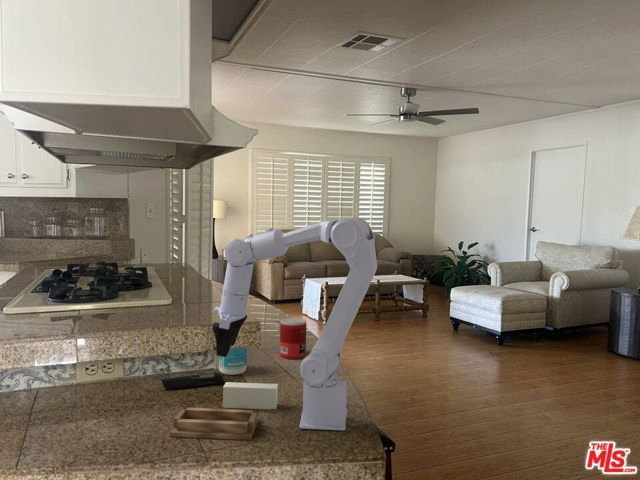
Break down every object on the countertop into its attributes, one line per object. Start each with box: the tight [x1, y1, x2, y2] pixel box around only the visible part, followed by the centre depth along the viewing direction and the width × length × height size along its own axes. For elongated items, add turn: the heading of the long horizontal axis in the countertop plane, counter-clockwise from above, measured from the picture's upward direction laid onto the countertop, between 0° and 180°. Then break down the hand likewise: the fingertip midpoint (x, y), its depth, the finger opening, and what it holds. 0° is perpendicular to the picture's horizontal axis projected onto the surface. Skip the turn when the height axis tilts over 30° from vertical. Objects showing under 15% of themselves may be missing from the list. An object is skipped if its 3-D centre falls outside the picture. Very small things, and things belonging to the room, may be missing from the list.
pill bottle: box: [218, 347, 248, 376], centre depth 138 cm, size 8×7×14 cm
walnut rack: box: [169, 407, 259, 441], centre depth 103 cm, size 16×9×3 cm, turn 88°
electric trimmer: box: [160, 371, 226, 389], centre depth 127 cm, size 4×16×3 cm, turn 113°
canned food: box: [279, 317, 307, 360], centre depth 153 cm, size 8×8×11 cm
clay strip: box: [222, 381, 279, 410], centre depth 115 cm, size 12×3×5 cm, turn 89°
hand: (225, 350), depth 114 cm, fingers open, 7 cm apart
